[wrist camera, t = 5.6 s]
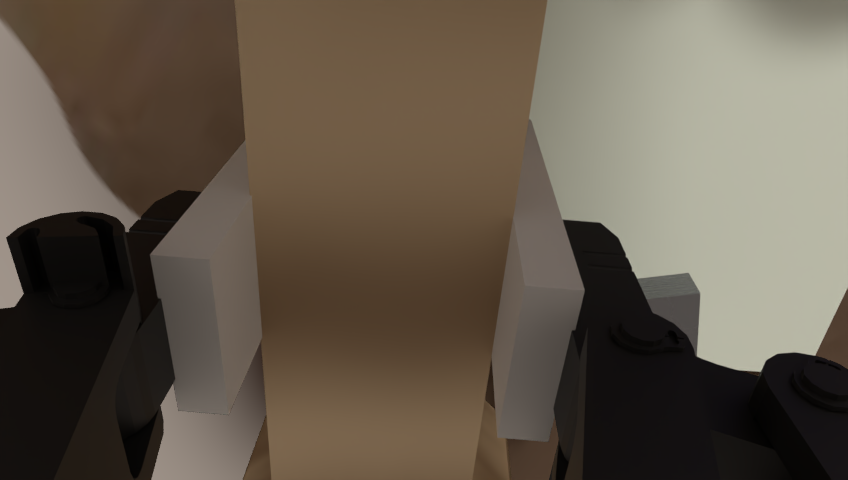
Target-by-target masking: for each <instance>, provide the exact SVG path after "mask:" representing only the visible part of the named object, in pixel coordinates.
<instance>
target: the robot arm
mask: <svg viewBox="0 0 848 480" xmlns="http://www.w3.org/2000/svg"><path fill="white" fill-rule="evenodd" d="M6 238H7V242H8V245H9V248H10V251H11V254H12V257H13V261H14V263H15V267H16V270H17V274H18V277H19V280H20V283H21V286H22V289H23V292H24V294H23V296H22V297H21V299H20V300H19V302H18V303H17V305H16V306H15V307H11V308H4V309H0V480H151V478H152V474H153V471H154V467H155V463H156V459H157V455H158V452H159V448H160V444H161V440H162V437H163V416H162V411H161V406H160V405H161V403H162V401H163V400H164V398H165V396H166V394H167V393H168V391H169V389H170V388H171V386H172V384H174V390H175V395H176V401H177V406H178V411H188V412H199V413H212V414H223V415H229V414H230V411H231V409H232V406H233V404H234V402H235V400H236V397H237V395H238V393H239V390H240V388H241V385H242V383H243V381H244V379H245V377H246V374H247V372H248V369H249V367H250V365H251V363H252V360H253V358H254V355H255V353H256V351H257V349H258V346H259V344H260V342H261V339H262V326H261V312H260V299H259V286H258V272H257V259H256V246H255V233H254V219H253V206H252V196H250V192H249V179H248V166H247V153H246V140H245V141H244V142H243V143H242V145H241V146H240V147H239V148H238V149H237V151H236V152H235V153H234V154H233V155H232V157H231V158H230V159H229V160H228V161H227V163H226V164H225V165H224V166H223V167H222V169H221V170H220V171H219V172H218V173H217V175H216V176H215V177H214V178H213V179H212V181H211V182H210V183H209V184H208V185H207V187H206V188H205V189H204V190H203V192H195V191H182V190H178V191H176V192H174V193H172V194H170V195H168V196H166V197H164V198H162V199H160V200H158V201H156V202H155V203H154V204H153V205H152V206H151V207H150V208H149V209H148V210H147V211H146V212H145V213H144V214H143V215H142V216H141V220H138V221H136V223H135V224H134V225H133V226H132V227H131V228H130V229H129V232H125V227H124V225H123V224H122V223H121V222H120V221H119V220H118V219H117V218H115V217H113V216H110V215H107V214H104V213H96V212H83V211H82V212H71V213H60V214H57V215H52V216H49V217H44V218H40V219H37V220H35V221H33V222H30V223H28V224H26V225H23V226H21V227H19V228H18V229H16V230H15V231H14V232H13V233H11V234H10V235H9V236H8V237H6ZM492 370H493V384H494V398H495V411H496V425H497V438H509V439H521V440H533V441H545V442H548V441H549V437H550V433H551V429H552V425H553V421H554V416H555V420H556V426H557V431H558V437H559V442H558V446H557V450H556V454H555V458H554V462H553V466H552V470H551V474H550V478H549V480H848V369H846V368H845V367H843V366H842V365H840V364H838V363H835V362H833V361H831V360H830V361H829V360H827V359H825V358H821V357H818V356H814V355H808V354H802V353H796V352H792V353H780V354H776V355H774V356H773V357H771V358H769V359H767V360H766V361H765V364H764V366H763V368H762V370H761V372H760V375H759V376H756V375H753V374H749V373H746V372H742V371H739V370H735V369H732V368H728V367H725V366H721V365H718V364H715V363H712V362H710V361H707V360H704V359H701V358H699V357H697V356H695V352H694V348H693V346H692V344H691V342H690V340H689V338H688V336H687V335H686V334H685V333H684V332H683V331H682V330H681V329H680V328H678V327H677V326H676V325H675V324H674V323H672V322H670V321H668V320H666V319H665V318H663V317H661V316H659V315H657V314H654V313H653V312H652V310H651V308H650V306H649V304H648V301H647V299H646V297H645V295H644V293H643V290H642V288H641V286H640V284H639V282H638V280H637V277H636V275H635V273H634V272H633V271H632V266H631V264H630V262H629V260H628V258H626V253H625V251H624V249H623V247H622V245H621V242H620V240H619V238H618V237H617V236H616V235H614V234H613V233H612V232H611V231H610V230H609V229H607V228H606V227H605V226H604V225H603V224H601V223H599V222H587V221H575V220H562V217H561V213H560V210H559V207H558V204H557V201H556V197H555V194H554V191H553V188H552V185H551V182H550V178H549V175H548V172H547V169H546V166H545V163H544V159H543V156H542V153H541V150H540V147H539V144H538V140H537V137H536V134H535V131H534V128H533V125H532V121H531V120H530V119H529V121H528V128H527V134H526V140H525V147H524V153H523V160H522V166H521V172H520V179H519V185H518V191H517V198H516V204H515V210H514V217H513V221H512V228H511V234H510V241H509V247H508V253H507V260H506V266H505V273H504V279H503V285H502V292H501V298H500V305H499V311H498V317H497V324H496V330H495V337H494V343H493V349H492Z"/></svg>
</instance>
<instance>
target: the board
mask: <svg viewBox="0 0 848 480" xmlns="http://www.w3.org/2000/svg"><path fill="white" fill-rule="evenodd" d="M529 119H530V120H531V121H532V125H533V128H534V131H535V134H536V137H537V140H538V144H539V147H540V150H541V153H542V156H543V159H544V163H545V166H546V169H547V172H548V175H549V178H550V182H551V185H552V188H553V191H554V194H555V197H556V201H557V204H558V207H559V210H560V213H561V217H562V220H575V221H587V222H599V223H601V224H603V225H604V226H605V227H606V228H607V229H609V230H610V231H611V232H612V233H613V234H614V235H616V236H617V237H618V238H619V240H620V242H621V245H622V247H623V249H624V251H625V253H626V258H628V260H629V262H630V264H631V266H632V271H633V272H634V273H635V275H636V277H637V279H639V278H647V277H656V276H665V275H674V274H682V273H689V274H690V276H691V278H692V279H693V281H694V283H695V285H696V286H697V288H698V290H699V292H700V311H699V328H698V345H697V357H699V358H701V359H704V360H707V361H710V362H712V363H715V364H718V365H721V366H725V367H728V368H732V369H735V370H742V371H757V372H761V370H762V368H763V366H764V364H765V361H766V360H767V359H769V358H771V357H773V356H774V355H776V354H780V353H792V352H796V353H802V354H808V355H814V356H815V354H816V352H817V350H818V348H819V346H820V344H821V342H822V340H823V338H824V336H825V334H826V331H827V329H828V327H829V325H830V323H831V321H832V319H833V317H834V315H835V313H836V311H837V308H838V306H839V304H840V302H841V300H842V298H843V296H844V294H845V292H846V290H847V288H848V0H547V7H546V13H545V19H544V26H543V32H542V39H541V45H540V51H539V58H538V64H537V70H536V77H535V83H534V89H533V96H532V102H531V109H530V115H529Z"/></svg>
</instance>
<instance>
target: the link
mask: <svg viewBox="0 0 848 480" xmlns="http://www.w3.org/2000/svg"><path fill="white" fill-rule="evenodd" d="M546 7H547V0H235V9H236V22H237V35H238V48H239V61H240V74H241V87H242V100H243V113H244V126H245V139H246V153H247V166H248V179H249V192H250V196H252V206H253V219H254V233H255V246H256V259H257V272H258V286H259V299H260V312H261V326H262V339H261V349H262V362H263V374H264V387H265V401H266V417H265V420H264V423H263V425H262V428H261V431H260V433H259V436H258V439H257V442H256V445H255V447H254V450H253V453H252V455H251V458H250V461H249V464H248V467H247V469H246V472H245V475H244V477H243V480H511V470H510V460H509V450H508V440H507V438H497V425H496V411H495V409H494V408H493V407H492V406H491V405H490V404H489V403H488V402H487V401H486V400H485V395H486V389H487V382H488V376H489V370H490V363H491V357H492V349H493V343H494V337H495V330H496V324H497V317H498V311H499V305H500V298H501V292H502V285H503V279H504V273H505V266H506V260H507V253H508V247H509V241H510V234H511V228H512V221H513V217H514V210H515V204H516V198H517V191H518V185H519V179H520V172H521V166H522V160H523V153H524V147H525V140H526V134H527V128H528V121H529V115H530V109H531V102H532V96H533V89H534V83H535V77H536V70H537V64H538V58H539V51H540V45H541V39H542V32H543V26H544V19H545V13H546Z"/></svg>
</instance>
